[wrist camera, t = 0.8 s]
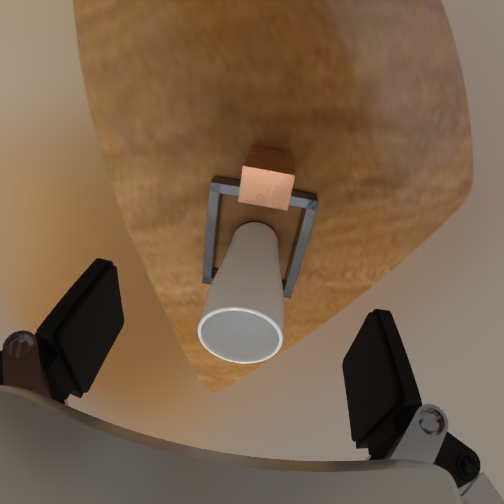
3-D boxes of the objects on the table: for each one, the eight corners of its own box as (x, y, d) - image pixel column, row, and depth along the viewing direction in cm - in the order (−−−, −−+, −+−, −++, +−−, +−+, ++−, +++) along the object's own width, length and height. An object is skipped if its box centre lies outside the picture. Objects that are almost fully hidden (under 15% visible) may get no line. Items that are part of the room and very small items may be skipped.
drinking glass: (296, 245, 34) (301, 345, 22) (252, 273, 37) (236, 373, 24) (259, 202, 32) (243, 292, 19) (214, 235, 35) (178, 330, 22)
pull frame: (218, 140, 28) (198, 159, 22) (324, 159, 28) (338, 184, 22) (205, 273, 38) (190, 316, 31) (290, 287, 38) (290, 334, 31)
